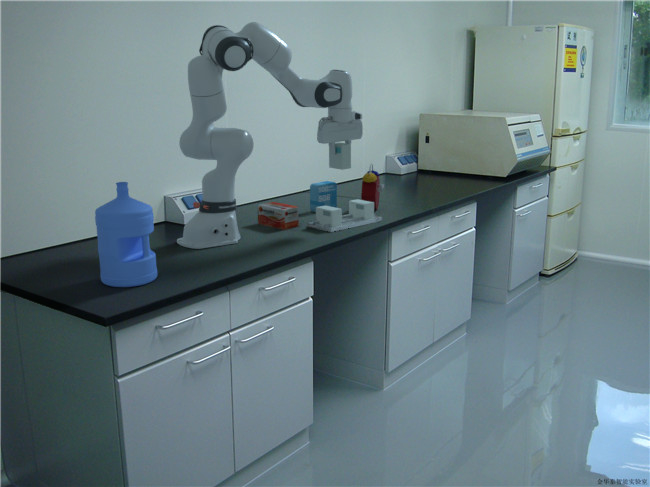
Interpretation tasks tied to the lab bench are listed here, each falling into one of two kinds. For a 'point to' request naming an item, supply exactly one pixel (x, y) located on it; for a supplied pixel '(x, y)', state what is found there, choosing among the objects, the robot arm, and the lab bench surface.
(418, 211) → the lab bench surface
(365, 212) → the block
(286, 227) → the medicine box
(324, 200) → the blue printed box
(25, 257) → the lab bench surface
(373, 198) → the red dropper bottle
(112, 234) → the water jug
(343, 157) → the block
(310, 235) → the lab bench surface
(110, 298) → the lab bench surface
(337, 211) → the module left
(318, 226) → the din rail
